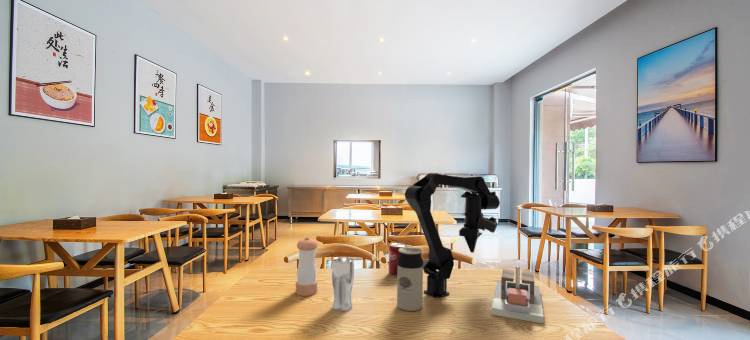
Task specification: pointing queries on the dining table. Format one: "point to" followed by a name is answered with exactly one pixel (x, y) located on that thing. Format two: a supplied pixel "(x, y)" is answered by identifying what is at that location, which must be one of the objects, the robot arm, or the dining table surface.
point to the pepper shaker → (306, 268)
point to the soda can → (394, 257)
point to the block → (517, 296)
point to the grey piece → (513, 306)
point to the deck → (533, 315)
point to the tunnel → (509, 276)
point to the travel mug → (410, 279)
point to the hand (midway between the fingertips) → (472, 252)
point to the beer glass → (342, 282)
